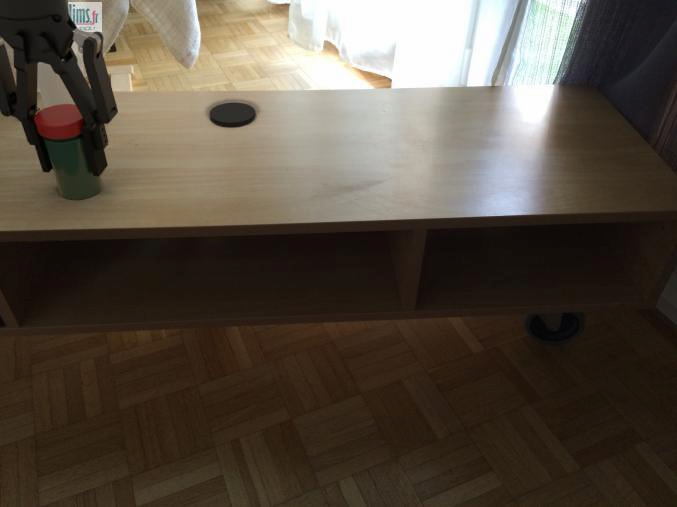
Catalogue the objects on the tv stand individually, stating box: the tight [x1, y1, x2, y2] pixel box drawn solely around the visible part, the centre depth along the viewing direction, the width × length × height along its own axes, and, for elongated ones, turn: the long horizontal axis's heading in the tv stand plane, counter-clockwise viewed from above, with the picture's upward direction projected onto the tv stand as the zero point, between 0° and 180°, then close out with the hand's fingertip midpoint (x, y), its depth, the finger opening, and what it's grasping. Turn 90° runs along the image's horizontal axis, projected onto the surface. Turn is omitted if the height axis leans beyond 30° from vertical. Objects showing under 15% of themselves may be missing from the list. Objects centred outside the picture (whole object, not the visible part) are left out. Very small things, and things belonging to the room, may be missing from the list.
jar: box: [42, 133, 103, 201], centre depth 75 cm, size 5×5×9 cm
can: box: [37, 43, 86, 109], centre depth 89 cm, size 6×6×12 cm
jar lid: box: [34, 104, 86, 139], centre depth 72 cm, size 6×6×2 cm
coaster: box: [209, 101, 256, 128], centre depth 95 cm, size 7×7×1 cm
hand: (75, 168), depth 76 cm, fingers closed on jar lid, 6 cm apart
